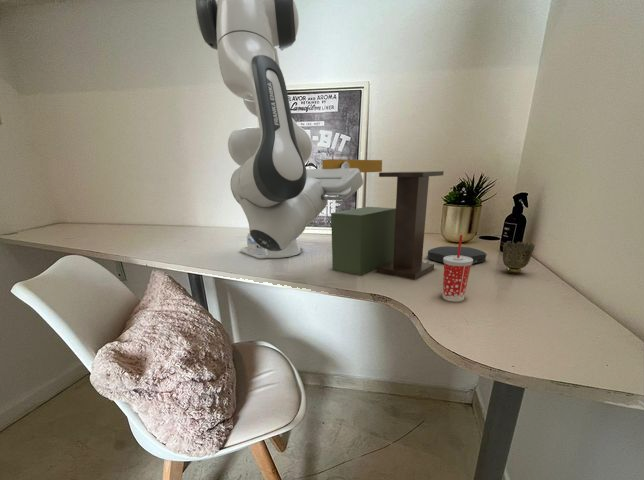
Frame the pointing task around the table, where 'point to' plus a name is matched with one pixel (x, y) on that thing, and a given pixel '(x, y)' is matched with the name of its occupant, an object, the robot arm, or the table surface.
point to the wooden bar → (354, 164)
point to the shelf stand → (409, 224)
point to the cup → (516, 256)
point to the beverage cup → (456, 275)
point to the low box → (362, 239)
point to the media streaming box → (445, 251)
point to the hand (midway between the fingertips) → (339, 164)
